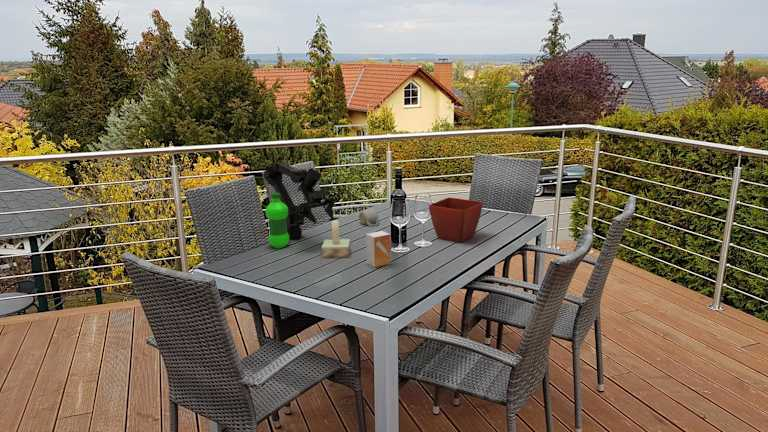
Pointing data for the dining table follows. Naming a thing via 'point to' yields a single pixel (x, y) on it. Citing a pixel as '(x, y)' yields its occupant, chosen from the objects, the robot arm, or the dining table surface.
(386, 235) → the small box
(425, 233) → the dining table surface
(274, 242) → the plastic bottle
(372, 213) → the ceramic mug
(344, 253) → the oak box
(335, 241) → the beige peg on base
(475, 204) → the plant pot
